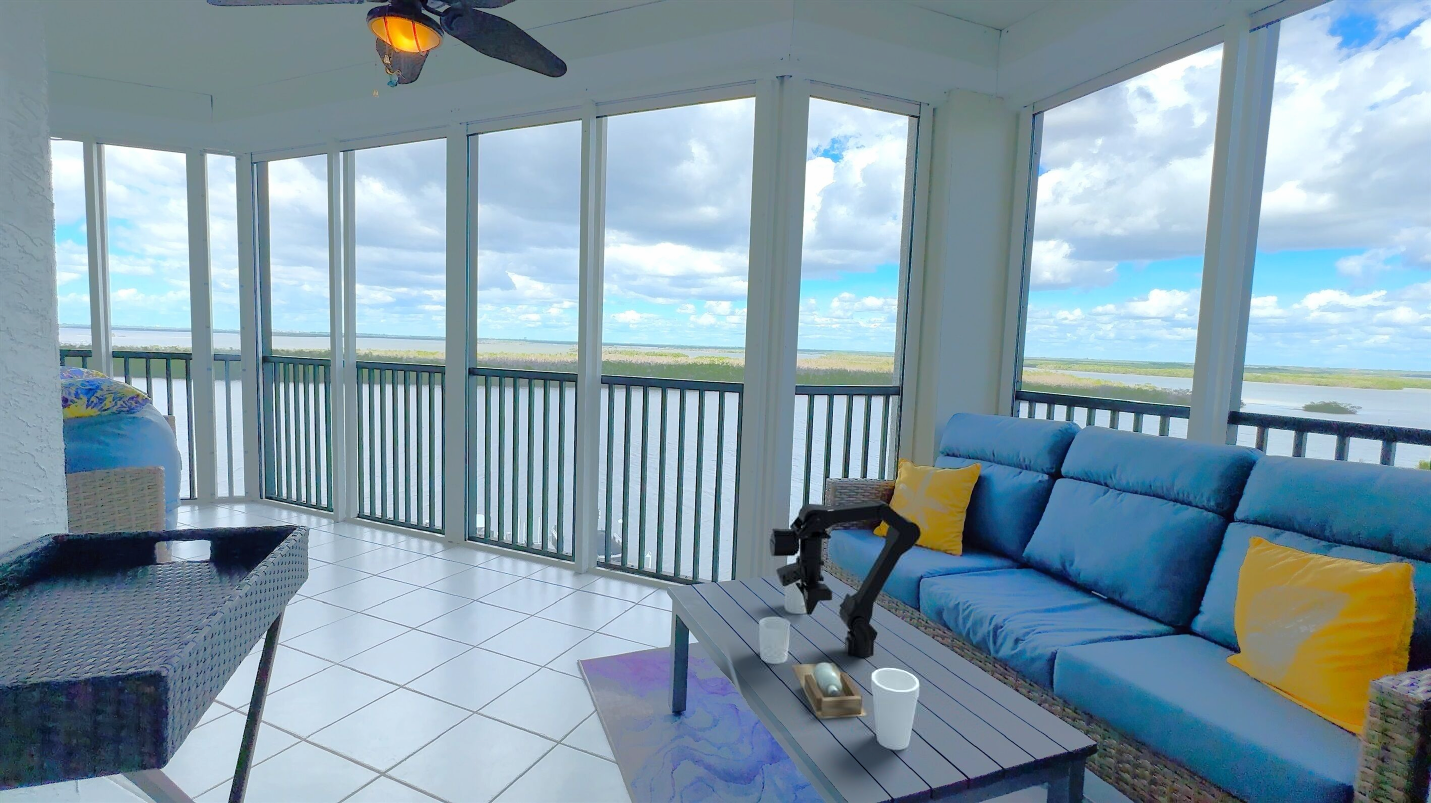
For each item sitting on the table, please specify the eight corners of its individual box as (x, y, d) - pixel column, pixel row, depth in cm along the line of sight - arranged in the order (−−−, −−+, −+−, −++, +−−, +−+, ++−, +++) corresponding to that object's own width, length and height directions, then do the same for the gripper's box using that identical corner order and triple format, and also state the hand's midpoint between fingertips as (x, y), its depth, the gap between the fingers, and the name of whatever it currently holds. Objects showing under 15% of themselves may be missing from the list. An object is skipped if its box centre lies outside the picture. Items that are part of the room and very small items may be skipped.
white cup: (753, 663, 160) (754, 625, 159) (765, 650, 167) (766, 614, 166) (782, 671, 157) (783, 632, 156) (793, 657, 163) (794, 620, 163)
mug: (780, 605, 197) (780, 573, 196) (802, 602, 200) (803, 570, 199) (798, 621, 185) (799, 587, 184) (822, 617, 188) (823, 583, 187)
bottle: (833, 661, 149) (846, 684, 139) (833, 681, 150) (846, 706, 139) (812, 663, 149) (824, 686, 139) (813, 683, 149) (824, 708, 139)
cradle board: (833, 666, 159) (834, 649, 159) (867, 719, 137) (868, 699, 136) (791, 668, 158) (791, 651, 157) (818, 722, 135) (818, 702, 135)
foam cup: (881, 721, 136) (883, 663, 135) (923, 738, 130) (926, 678, 129) (861, 741, 129) (863, 680, 128) (904, 761, 123) (907, 697, 122)
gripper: (771, 544, 169) (770, 600, 170) (788, 568, 150) (787, 631, 152) (812, 543, 170) (810, 599, 172) (834, 566, 152) (831, 629, 153)
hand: (808, 614), depth 162 cm, fingers closed
